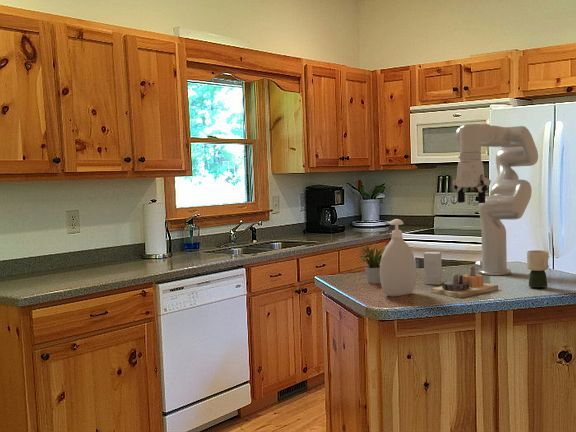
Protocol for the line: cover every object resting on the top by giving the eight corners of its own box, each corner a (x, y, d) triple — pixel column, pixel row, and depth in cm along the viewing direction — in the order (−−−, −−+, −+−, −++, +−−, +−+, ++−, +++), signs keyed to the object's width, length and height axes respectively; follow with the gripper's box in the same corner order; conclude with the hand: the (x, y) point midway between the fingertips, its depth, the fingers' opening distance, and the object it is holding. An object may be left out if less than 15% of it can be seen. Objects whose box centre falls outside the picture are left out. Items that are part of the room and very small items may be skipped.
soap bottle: (408, 290, 216) (405, 216, 214) (421, 294, 208) (419, 217, 206) (373, 295, 210) (371, 219, 208) (386, 299, 203) (383, 221, 201)
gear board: (431, 292, 210) (430, 268, 210) (469, 284, 221) (468, 262, 220) (459, 298, 199) (459, 273, 199) (498, 289, 210) (497, 265, 209)
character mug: (556, 290, 205) (556, 253, 204) (537, 291, 204) (536, 254, 203) (538, 284, 216) (538, 249, 215) (520, 285, 215) (520, 250, 214)
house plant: (347, 284, 231) (346, 243, 229) (359, 278, 243) (357, 239, 242) (383, 286, 224) (381, 243, 223) (393, 279, 237) (391, 239, 236)
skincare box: (442, 282, 226) (441, 251, 225) (440, 285, 222) (439, 253, 221) (426, 282, 229) (425, 251, 228) (424, 284, 225) (423, 253, 224)
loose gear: (457, 285, 213) (457, 275, 213) (471, 282, 217) (471, 273, 217) (473, 288, 207) (473, 278, 207) (487, 285, 211) (487, 275, 211)
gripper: (446, 158, 227) (447, 202, 229) (482, 156, 213) (483, 203, 214) (459, 158, 231) (460, 201, 233) (496, 156, 217) (496, 202, 218)
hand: (471, 202), depth 223 cm, fingers open, 9 cm apart
